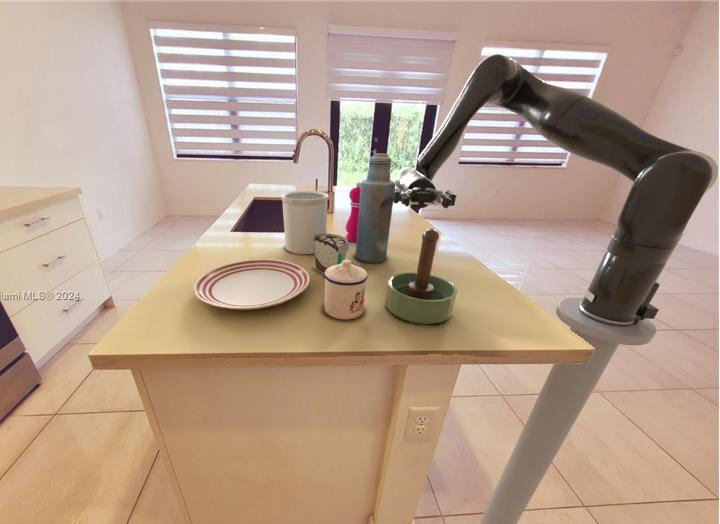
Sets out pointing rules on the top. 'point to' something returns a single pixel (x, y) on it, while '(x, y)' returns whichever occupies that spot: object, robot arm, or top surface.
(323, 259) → the slice of cake
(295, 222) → the utensil holder
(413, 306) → the bowl
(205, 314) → the top surface
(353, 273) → the teacup with lid
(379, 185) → the bottle
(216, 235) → the top surface
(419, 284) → the wooden pestle
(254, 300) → the dinner plate
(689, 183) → the robot arm
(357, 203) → the pepper mill
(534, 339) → the top surface
